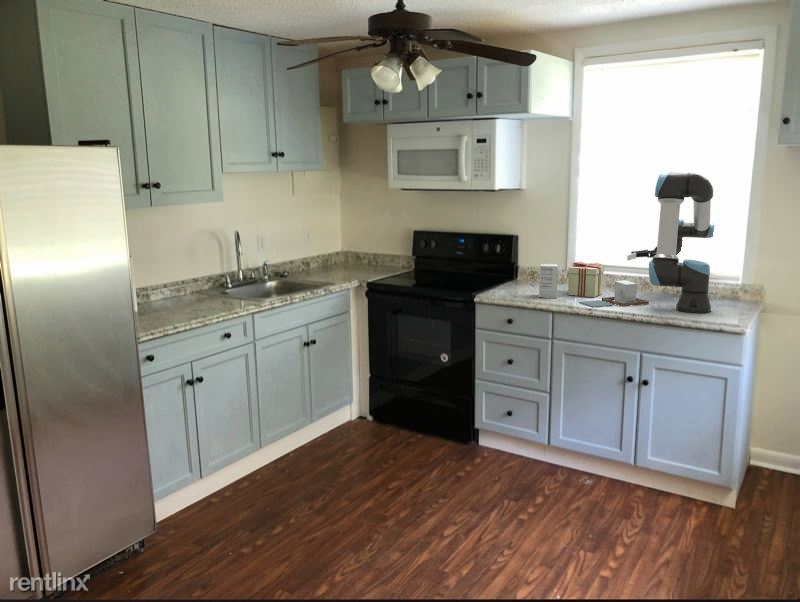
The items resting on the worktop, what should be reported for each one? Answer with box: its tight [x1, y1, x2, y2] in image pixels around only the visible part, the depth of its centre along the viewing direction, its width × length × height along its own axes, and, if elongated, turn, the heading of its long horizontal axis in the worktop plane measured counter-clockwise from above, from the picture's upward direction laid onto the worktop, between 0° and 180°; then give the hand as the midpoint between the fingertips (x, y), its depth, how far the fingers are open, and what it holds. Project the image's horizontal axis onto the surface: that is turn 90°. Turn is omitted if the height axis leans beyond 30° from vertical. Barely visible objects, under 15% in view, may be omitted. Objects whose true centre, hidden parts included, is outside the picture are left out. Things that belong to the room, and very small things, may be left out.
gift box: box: [567, 261, 605, 298], centre depth 358 cm, size 17×18×17 cm
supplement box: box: [538, 263, 559, 299], centre depth 352 cm, size 10×9×17 cm
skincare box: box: [613, 279, 638, 303], centre depth 335 cm, size 10×6×10 cm, turn 12°
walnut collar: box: [601, 296, 650, 307], centre depth 336 cm, size 16×16×2 cm
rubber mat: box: [578, 299, 615, 308], centre depth 332 cm, size 12×12×1 cm
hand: (639, 260), depth 336 cm, fingers open, 13 cm apart
